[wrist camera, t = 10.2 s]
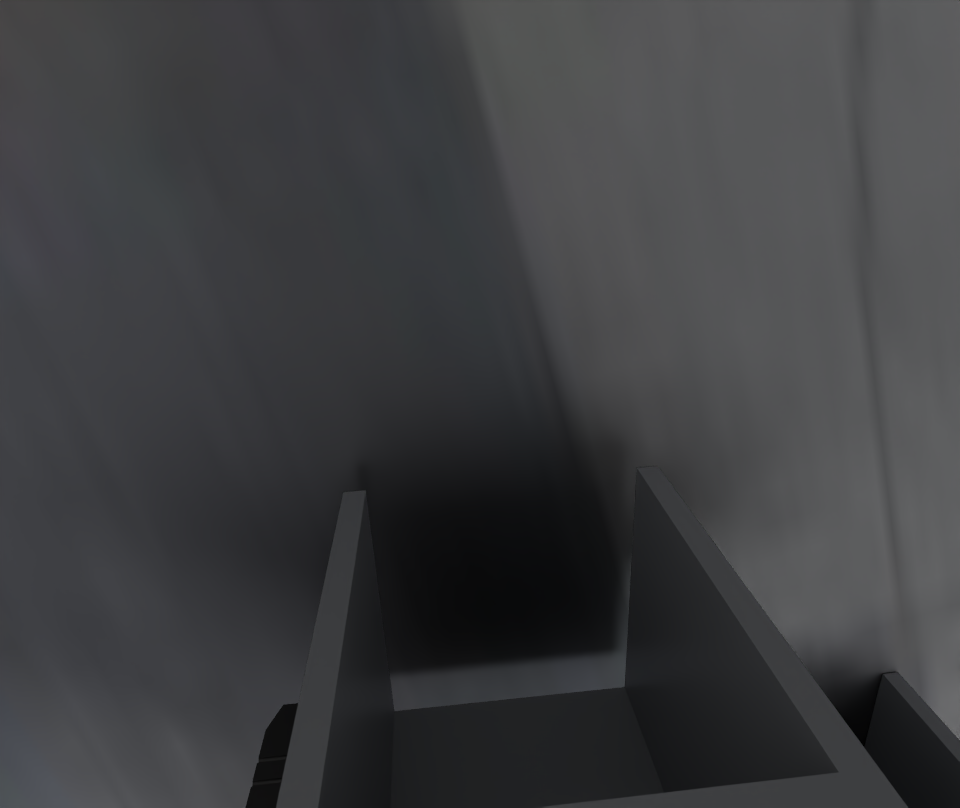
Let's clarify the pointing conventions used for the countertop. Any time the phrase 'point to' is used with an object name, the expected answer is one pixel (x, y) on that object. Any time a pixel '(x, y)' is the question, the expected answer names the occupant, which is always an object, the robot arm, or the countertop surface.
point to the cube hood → (583, 702)
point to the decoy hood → (913, 747)
